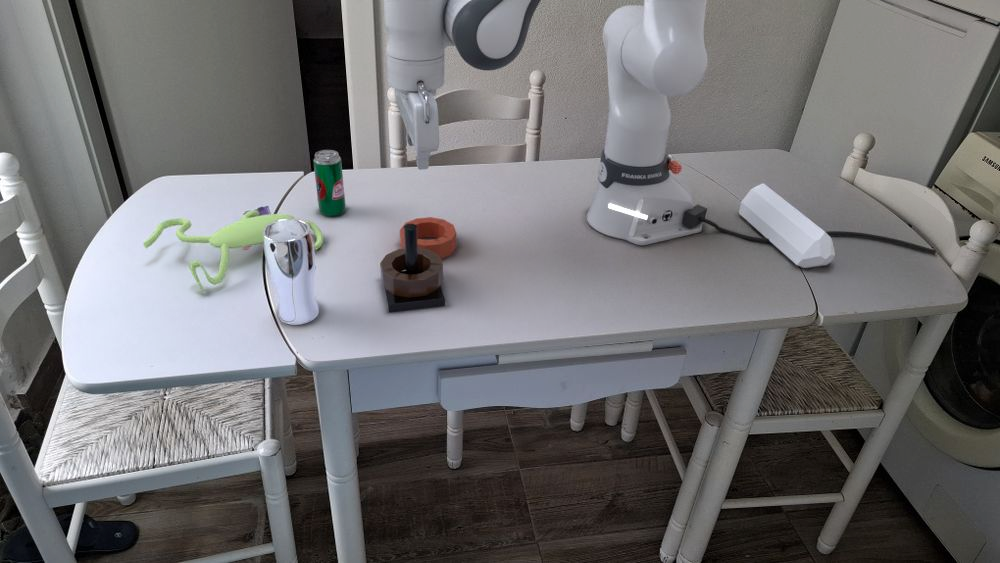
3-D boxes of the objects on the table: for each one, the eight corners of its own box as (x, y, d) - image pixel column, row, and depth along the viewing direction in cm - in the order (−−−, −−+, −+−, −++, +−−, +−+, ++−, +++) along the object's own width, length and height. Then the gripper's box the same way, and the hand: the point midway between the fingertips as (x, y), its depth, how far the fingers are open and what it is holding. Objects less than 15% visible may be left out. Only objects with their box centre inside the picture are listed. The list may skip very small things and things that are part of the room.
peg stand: (435, 275, 117) (434, 210, 110) (445, 305, 110) (444, 238, 102) (381, 280, 115) (377, 215, 108) (388, 312, 107) (384, 244, 100)
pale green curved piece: (141, 254, 118) (132, 226, 115) (283, 208, 133) (278, 182, 130) (185, 303, 107) (177, 273, 104) (333, 246, 123) (330, 219, 119)
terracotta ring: (449, 230, 129) (449, 215, 128) (460, 257, 122) (460, 242, 120) (397, 235, 127) (396, 219, 125) (405, 263, 119) (404, 247, 117)
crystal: (854, 251, 122) (776, 190, 141) (831, 236, 118) (754, 176, 137) (825, 283, 124) (753, 219, 143) (801, 270, 121) (730, 206, 140)
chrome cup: (280, 300, 109) (266, 217, 100) (324, 299, 109) (314, 217, 101) (271, 327, 103) (256, 242, 95) (318, 326, 104) (307, 242, 95)
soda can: (340, 219, 131) (334, 161, 124) (315, 216, 132) (307, 158, 125) (350, 207, 135) (344, 150, 128) (325, 204, 136) (319, 147, 129)
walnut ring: (435, 260, 118) (434, 244, 116) (448, 292, 110) (448, 276, 108) (377, 267, 115) (376, 251, 113) (387, 301, 107) (386, 284, 106)
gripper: (449, 93, 98) (449, 181, 105) (424, 52, 114) (425, 131, 122) (405, 95, 96) (408, 184, 104) (386, 53, 112) (390, 133, 120)
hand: (417, 155), depth 113 cm, fingers open, 8 cm apart
